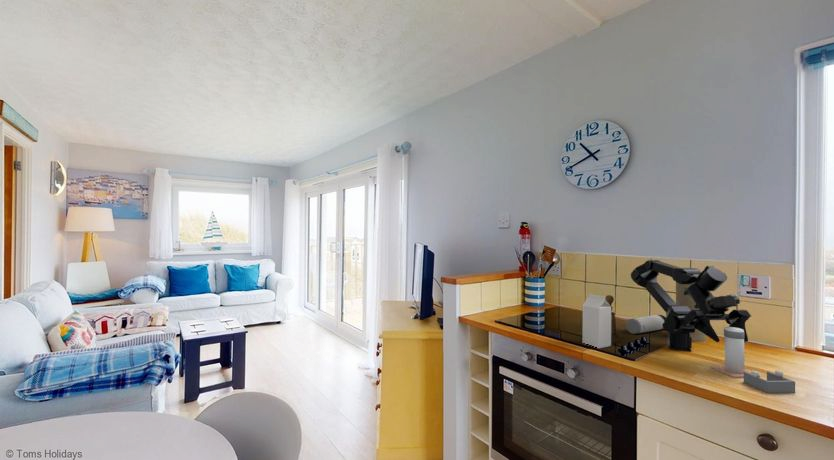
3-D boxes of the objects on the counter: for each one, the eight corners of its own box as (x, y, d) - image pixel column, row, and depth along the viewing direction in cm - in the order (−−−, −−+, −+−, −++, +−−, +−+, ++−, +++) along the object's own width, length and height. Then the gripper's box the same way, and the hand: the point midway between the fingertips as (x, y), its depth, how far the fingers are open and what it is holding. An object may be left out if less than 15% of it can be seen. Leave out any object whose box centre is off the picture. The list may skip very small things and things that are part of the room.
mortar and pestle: (600, 341, 143) (600, 296, 143) (599, 337, 149) (599, 293, 149) (619, 344, 141) (620, 297, 141) (617, 339, 147) (617, 294, 147)
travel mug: (642, 330, 150) (673, 325, 158) (633, 316, 154) (663, 311, 162) (631, 337, 155) (661, 331, 163) (622, 322, 158) (652, 318, 167)
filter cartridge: (720, 368, 115) (719, 326, 115) (735, 367, 116) (734, 326, 116) (734, 373, 111) (733, 330, 111) (749, 373, 111) (748, 330, 111)
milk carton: (598, 349, 135) (599, 297, 135) (582, 343, 141) (582, 294, 141) (611, 346, 138) (611, 296, 138) (594, 341, 144) (594, 293, 144)
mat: (711, 367, 117) (711, 366, 117) (735, 367, 117) (735, 365, 117) (734, 378, 109) (734, 376, 109) (759, 377, 109) (759, 376, 109)
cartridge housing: (742, 382, 106) (742, 367, 106) (770, 381, 106) (770, 367, 106) (766, 393, 99) (766, 377, 99) (796, 392, 99) (796, 377, 99)
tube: (671, 337, 150) (672, 276, 149) (680, 333, 156) (680, 274, 156) (701, 343, 142) (702, 279, 142) (709, 338, 148) (709, 277, 148)
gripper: (690, 285, 118) (719, 328, 108) (746, 285, 119) (780, 328, 108) (672, 304, 126) (697, 346, 116) (724, 303, 127) (754, 345, 116)
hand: (732, 341), depth 114 cm, fingers open, 9 cm apart
